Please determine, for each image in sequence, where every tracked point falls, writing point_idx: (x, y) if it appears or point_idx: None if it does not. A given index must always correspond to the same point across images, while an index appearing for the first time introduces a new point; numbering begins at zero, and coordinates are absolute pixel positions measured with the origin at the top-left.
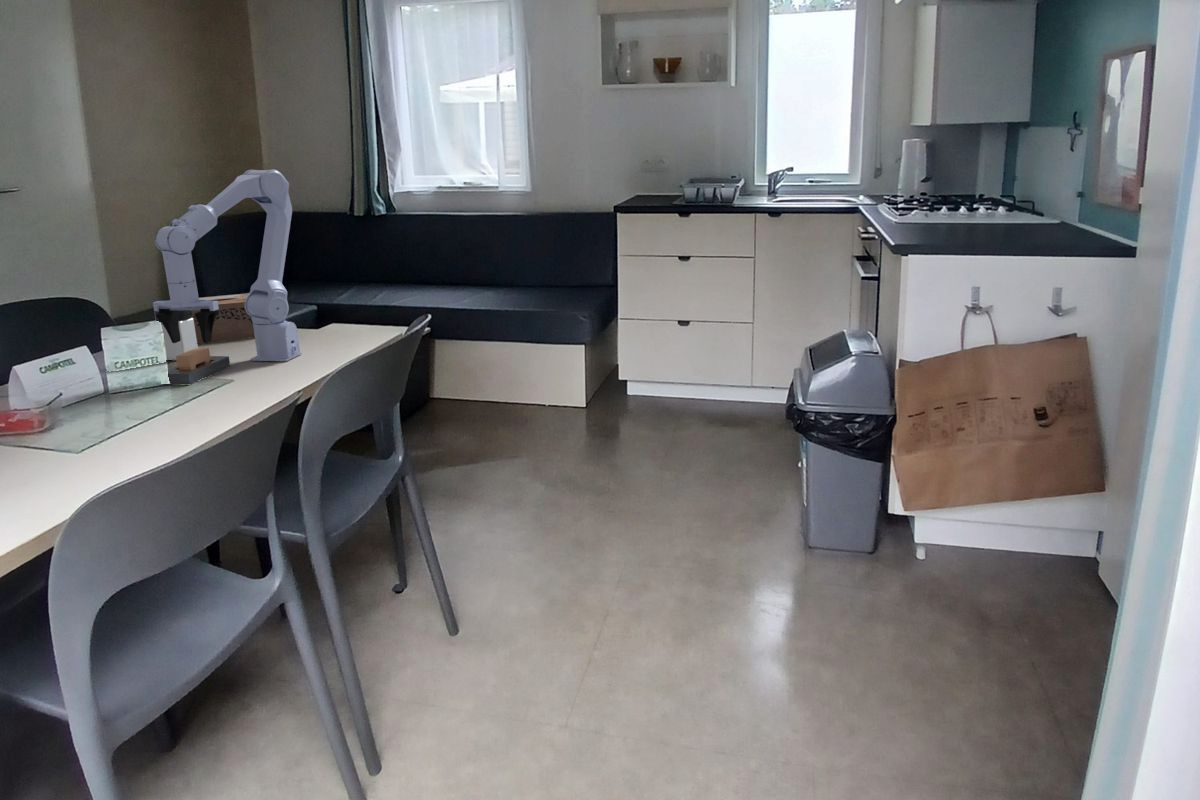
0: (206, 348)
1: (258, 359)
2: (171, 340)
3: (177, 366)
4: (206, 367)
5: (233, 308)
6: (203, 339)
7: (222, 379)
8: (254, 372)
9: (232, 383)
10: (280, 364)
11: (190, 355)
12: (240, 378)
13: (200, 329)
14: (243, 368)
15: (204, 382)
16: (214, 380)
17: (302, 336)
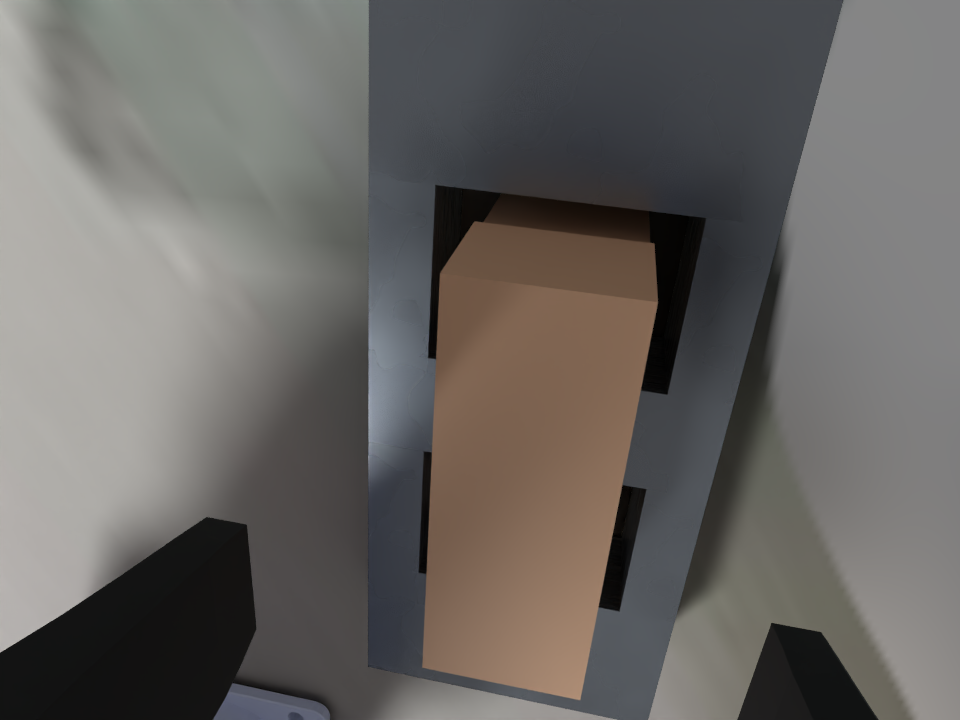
0: (431, 643)
1: (253, 696)
2: (838, 662)
3: (721, 366)
4: (372, 338)
5: None
6: (192, 554)
7: (207, 197)
8: (89, 407)
9: (5, 29)
10: (62, 594)
11: (439, 327)
12: (65, 221)
13: (69, 691)
14: (260, 535)
15: (318, 83)
16: (262, 162)
17: None
